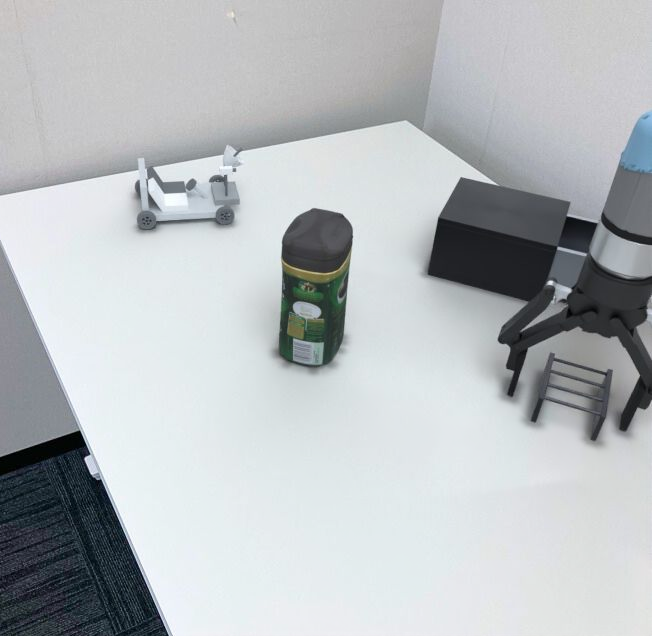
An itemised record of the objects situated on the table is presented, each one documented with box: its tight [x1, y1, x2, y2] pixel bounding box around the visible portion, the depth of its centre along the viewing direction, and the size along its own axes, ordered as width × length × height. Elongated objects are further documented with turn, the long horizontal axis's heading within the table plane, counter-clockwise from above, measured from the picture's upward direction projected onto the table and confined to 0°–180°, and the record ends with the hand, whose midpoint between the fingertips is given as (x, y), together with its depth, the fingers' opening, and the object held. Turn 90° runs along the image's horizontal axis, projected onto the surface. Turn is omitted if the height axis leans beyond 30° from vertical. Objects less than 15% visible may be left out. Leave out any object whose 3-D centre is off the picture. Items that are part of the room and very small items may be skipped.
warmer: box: [427, 176, 571, 302], centre depth 112 cm, size 17×14×10 cm
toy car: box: [134, 144, 245, 230], centre depth 121 cm, size 18×10×12 cm
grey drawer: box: [548, 212, 599, 288], centre depth 108 cm, size 20×13×8 cm, turn 67°
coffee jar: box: [278, 207, 354, 367], centre depth 93 cm, size 10×8×19 cm
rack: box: [530, 351, 614, 442], centre depth 91 cm, size 8×9×4 cm
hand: (566, 405), depth 92 cm, fingers open, 13 cm apart
